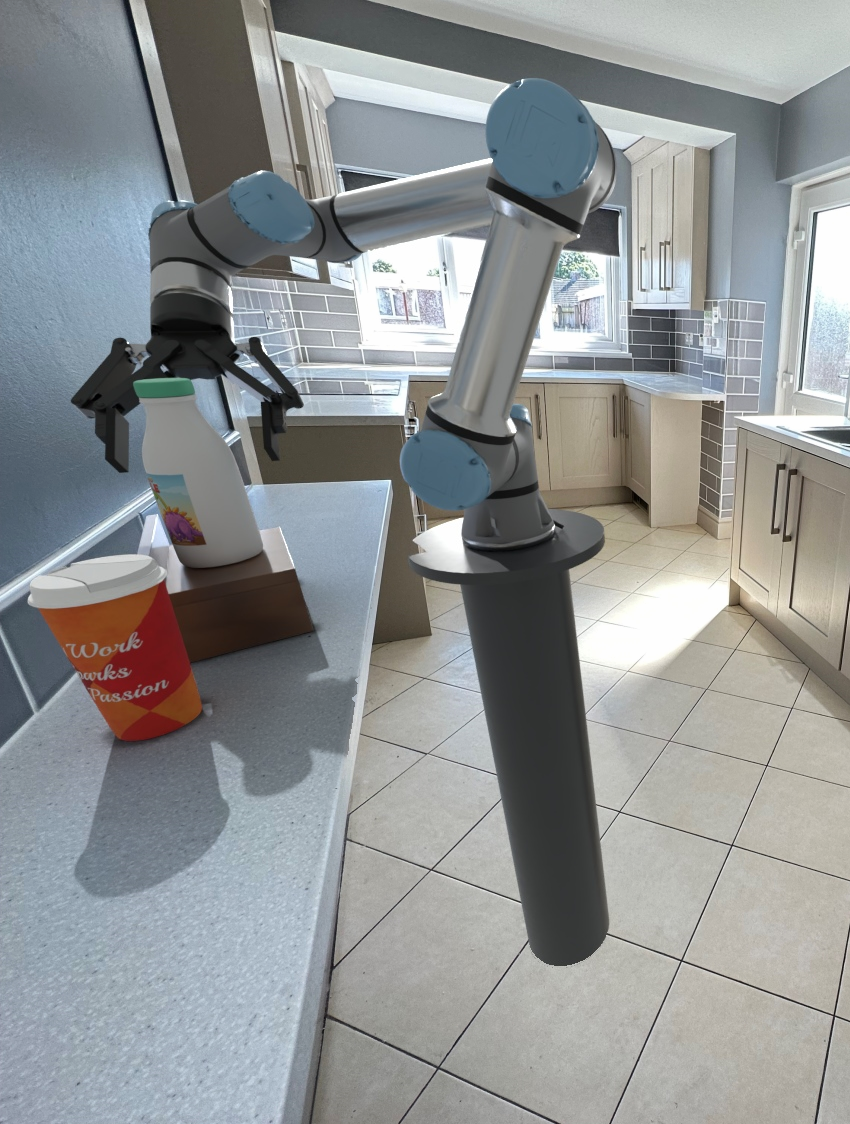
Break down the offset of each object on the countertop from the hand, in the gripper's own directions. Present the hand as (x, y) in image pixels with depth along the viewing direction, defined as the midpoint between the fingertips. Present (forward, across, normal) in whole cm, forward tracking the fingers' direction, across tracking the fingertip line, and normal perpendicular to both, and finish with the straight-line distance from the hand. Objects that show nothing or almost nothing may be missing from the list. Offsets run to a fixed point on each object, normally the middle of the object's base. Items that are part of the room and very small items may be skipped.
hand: (197, 460), depth 68 cm
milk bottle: (+9, 0, -7) cm, 11 cm away
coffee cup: (+29, +2, +2) cm, 30 cm away
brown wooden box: (+14, 0, -13) cm, 19 cm away
